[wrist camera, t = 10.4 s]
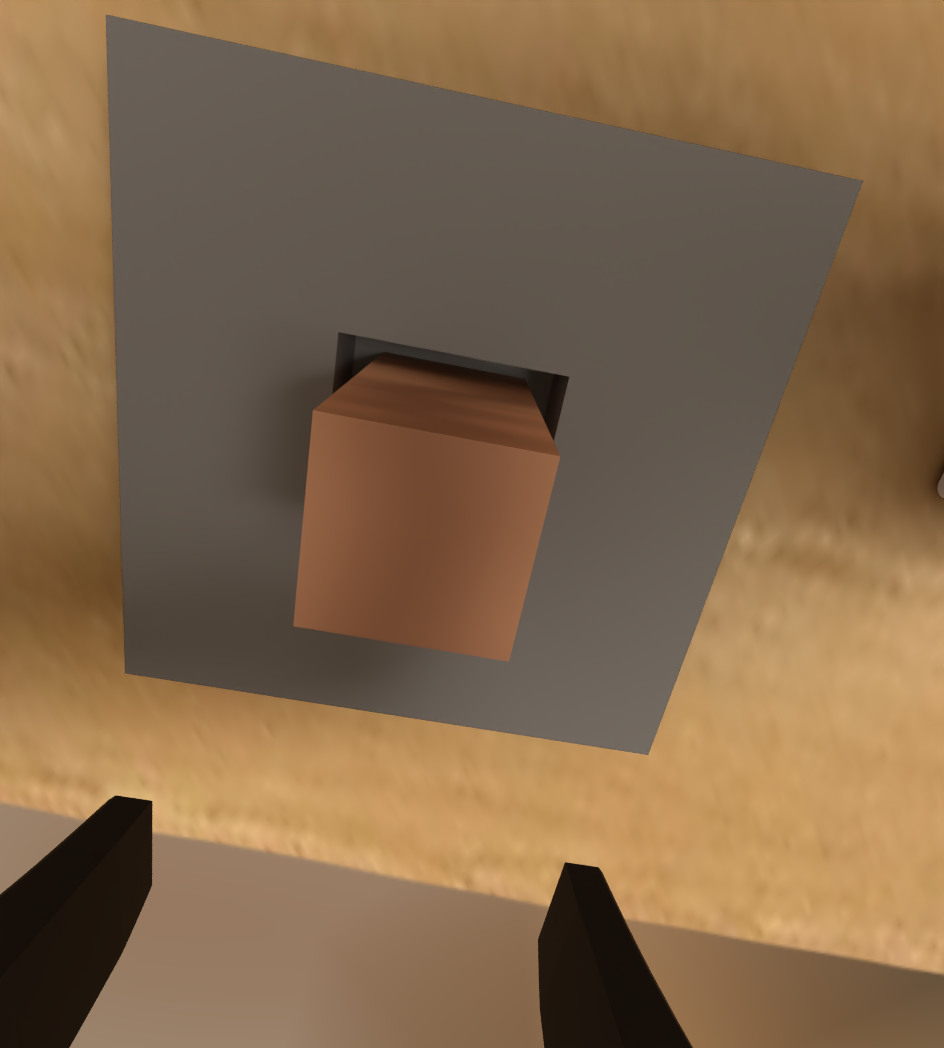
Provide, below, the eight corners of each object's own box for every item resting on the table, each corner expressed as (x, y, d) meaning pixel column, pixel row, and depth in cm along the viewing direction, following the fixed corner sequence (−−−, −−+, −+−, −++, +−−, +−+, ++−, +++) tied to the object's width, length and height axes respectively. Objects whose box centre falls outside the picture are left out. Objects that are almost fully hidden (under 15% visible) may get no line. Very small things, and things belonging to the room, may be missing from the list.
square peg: (525, 379, 17) (560, 456, 10) (496, 509, 19) (509, 661, 11) (384, 351, 17) (313, 410, 10) (366, 486, 19) (292, 625, 11)
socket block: (796, 197, 16) (863, 181, 13) (626, 694, 22) (648, 755, 19) (174, 62, 15) (106, 14, 12) (171, 620, 21) (125, 673, 18)
